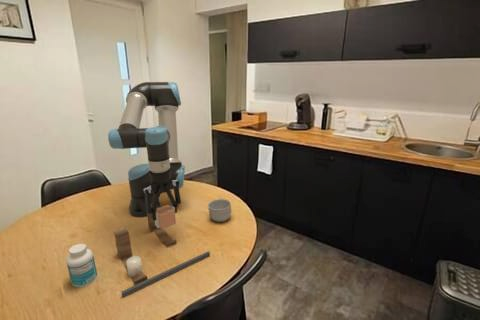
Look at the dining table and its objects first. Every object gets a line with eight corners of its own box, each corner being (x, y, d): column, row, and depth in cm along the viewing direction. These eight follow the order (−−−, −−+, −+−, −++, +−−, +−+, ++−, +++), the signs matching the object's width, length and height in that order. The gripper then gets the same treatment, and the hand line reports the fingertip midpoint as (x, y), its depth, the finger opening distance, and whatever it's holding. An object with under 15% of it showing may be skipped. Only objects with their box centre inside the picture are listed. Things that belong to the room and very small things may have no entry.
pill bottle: (79, 274, 90) (71, 241, 86) (101, 273, 91) (95, 240, 87) (67, 292, 83) (58, 256, 79) (92, 290, 84) (84, 254, 80)
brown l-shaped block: (148, 228, 117) (146, 205, 114) (157, 225, 120) (155, 202, 116) (167, 251, 102) (164, 225, 99) (176, 247, 105) (174, 221, 101)
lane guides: (104, 260, 97) (103, 253, 96) (180, 230, 116) (180, 224, 115) (123, 301, 79) (122, 293, 79) (210, 259, 98) (209, 252, 97)
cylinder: (126, 271, 90) (124, 259, 88) (139, 266, 92) (138, 254, 91) (130, 279, 86) (128, 266, 85) (144, 273, 89) (142, 260, 87)
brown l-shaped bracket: (118, 257, 99) (113, 230, 95) (129, 253, 101) (125, 227, 98) (135, 289, 84) (131, 259, 80) (148, 283, 86) (144, 254, 83)
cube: (155, 222, 105) (153, 209, 103) (169, 217, 109) (168, 204, 107) (161, 229, 101) (159, 215, 99) (175, 223, 104) (174, 210, 102)
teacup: (228, 225, 119) (227, 210, 117) (205, 223, 122) (204, 207, 119) (234, 211, 132) (234, 196, 130) (214, 209, 135) (213, 194, 132)
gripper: (137, 179, 89) (145, 236, 96) (187, 166, 100) (191, 219, 108) (130, 172, 94) (138, 227, 102) (179, 161, 105) (183, 211, 113)
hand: (165, 223), depth 105 cm, fingers closed on cube, 6 cm apart
